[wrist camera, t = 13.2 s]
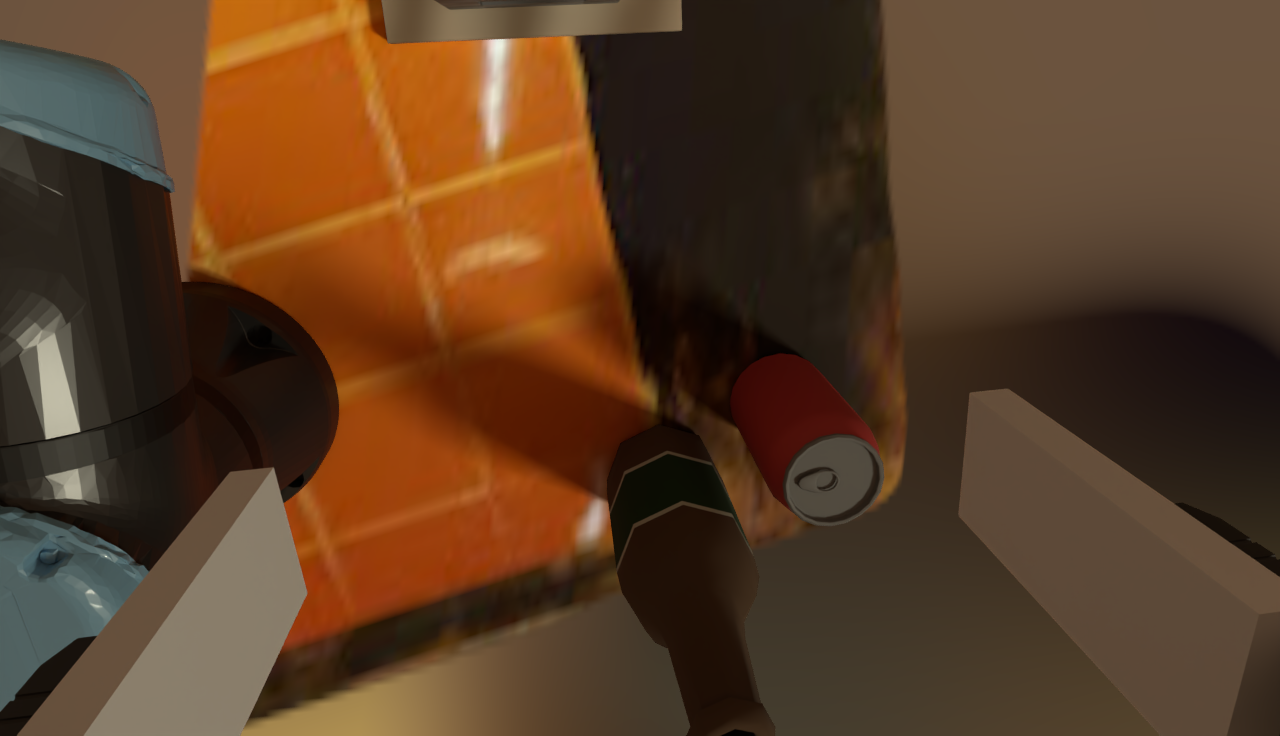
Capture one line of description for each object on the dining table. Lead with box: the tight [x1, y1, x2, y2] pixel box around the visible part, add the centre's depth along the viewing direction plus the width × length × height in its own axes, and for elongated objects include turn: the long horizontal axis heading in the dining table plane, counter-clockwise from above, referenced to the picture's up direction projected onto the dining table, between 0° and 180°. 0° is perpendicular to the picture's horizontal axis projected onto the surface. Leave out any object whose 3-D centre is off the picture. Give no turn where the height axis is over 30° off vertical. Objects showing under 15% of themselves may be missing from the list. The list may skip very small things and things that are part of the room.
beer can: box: [730, 354, 884, 526], centre depth 47 cm, size 7×7×12 cm
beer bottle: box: [607, 425, 775, 736], centre depth 43 cm, size 8×8×24 cm
